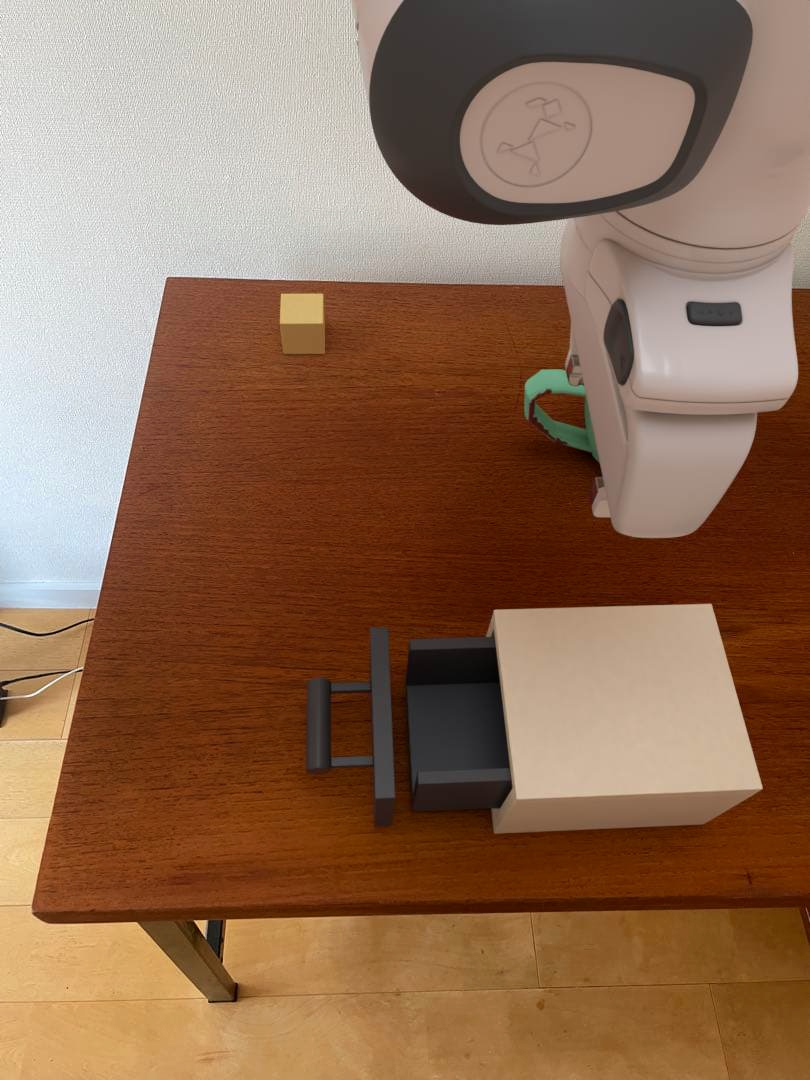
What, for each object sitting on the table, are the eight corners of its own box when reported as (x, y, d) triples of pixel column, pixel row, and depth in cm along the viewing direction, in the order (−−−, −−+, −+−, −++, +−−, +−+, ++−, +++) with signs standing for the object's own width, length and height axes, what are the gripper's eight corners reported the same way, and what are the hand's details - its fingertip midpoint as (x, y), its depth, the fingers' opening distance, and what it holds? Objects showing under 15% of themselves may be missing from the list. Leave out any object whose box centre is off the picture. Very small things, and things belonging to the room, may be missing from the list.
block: (283, 354, 77) (279, 323, 74) (284, 324, 79) (280, 293, 76) (325, 354, 77) (323, 323, 74) (325, 324, 79) (323, 293, 76)
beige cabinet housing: (493, 833, 55) (516, 799, 46) (476, 666, 61) (493, 609, 53) (703, 824, 56) (763, 789, 47) (665, 660, 62) (712, 603, 54)
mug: (657, 406, 76) (694, 328, 67) (680, 492, 70) (724, 418, 62) (504, 408, 75) (521, 328, 66) (516, 494, 70) (537, 420, 61)
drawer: (310, 829, 54) (301, 801, 47) (311, 674, 59) (304, 629, 53) (572, 818, 55) (601, 789, 48) (549, 666, 60) (572, 621, 54)
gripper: (566, 98, 40) (517, 311, 51) (646, 418, 29) (561, 593, 41) (690, 102, 40) (614, 312, 52) (813, 419, 29) (682, 592, 41)
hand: (591, 438), depth 46 cm, fingers open, 8 cm apart
